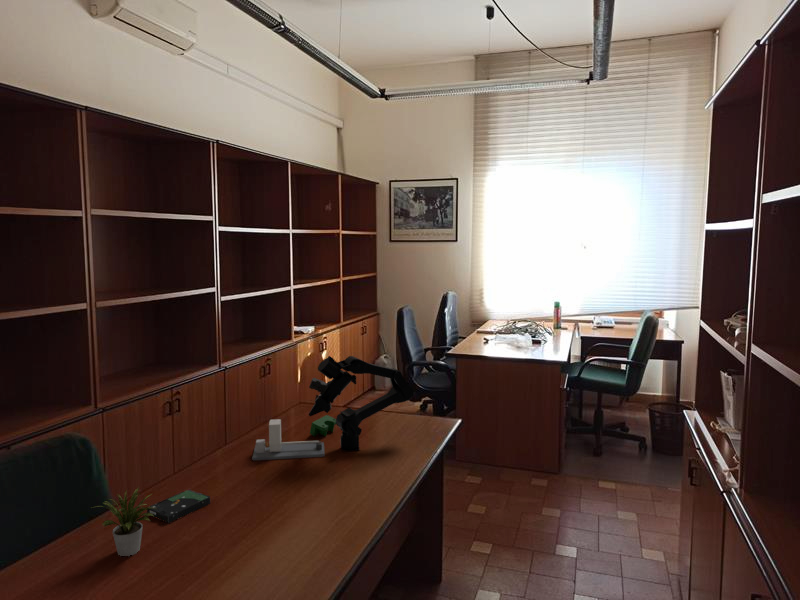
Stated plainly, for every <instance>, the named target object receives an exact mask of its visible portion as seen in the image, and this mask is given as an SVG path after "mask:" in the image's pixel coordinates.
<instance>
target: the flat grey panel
mask: <svg viewBox="0 0 800 600" xmlns="http://www.w3.org/2000/svg"><path fill="white" fill-rule="evenodd" d="M325 453H326V452H325V442H322V441H320V440H304V441H301V440H300V441H281V451H276V452H270V445H269V441H266V439H256V441H255V446H254V450H253V454H252V458H251V459H252V460H253V461H265V460H266V461H267V460H268V461H269V460H285V459H286V460H289V459H303V458H320V457H321V458H322V457H325ZM252 460H251V461H252Z"/></svg>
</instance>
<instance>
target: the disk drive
mask: <svg viewBox="0 0 800 600" xmlns="http://www.w3.org/2000/svg"><path fill="white" fill-rule="evenodd" d="M208 504H209V505H211V497H210V496H209V495H206V494H203V493H201V492H197V491H194V490H192V489H188V490H187V489H186V490H184V491H182V492H179V493H177V494H175V495H173V496H170V497H168V498H166V499H164V500H161V501H158V502H156V503H154V504H152V505H150V506H148V507H153V508H151V509H147V511H146V513H152V514H153V516H154V517H157V518H159V519H161V520H164V521H166V522H168V523H169V524H171V523H173V522H172V521H174V520H176V519H178V518H180V517H182V518H184V517H185V516H184V515H186V516H188V515H190V514H191V512H192V513H194V512H196V511H198V510H200V509H203V508H205V507H206V506H209V505H208ZM204 506H205V507H204ZM202 507H203V508H202ZM197 509H198V510H197ZM193 511H194V512H193ZM189 513H190V514H189ZM187 514H188V515H187ZM183 516H184V517H183ZM154 517H153V518H154ZM157 518H156V519H157ZM159 519H158V520H159ZM180 519H181V518H180ZM161 520H160V521H161ZM178 520H179V519H178ZM164 521H163V522H164ZM176 521H177V520H176ZM166 522H165V523H166ZM170 522H171V523H170ZM174 522H175V521H174ZM168 523H167V524H168Z"/></svg>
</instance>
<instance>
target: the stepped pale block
mask: <svg viewBox="0 0 800 600" xmlns="http://www.w3.org/2000/svg"><path fill="white" fill-rule="evenodd" d="M268 423H269V424H268V440H269V445H270V452H276V451H281V442H282V419H281V418H280V419H279V418H278V419H269V422H268Z"/></svg>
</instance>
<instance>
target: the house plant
mask: <svg viewBox="0 0 800 600" xmlns="http://www.w3.org/2000/svg"><path fill="white" fill-rule="evenodd" d="M127 490H128V489H125V492H124V497H123V498H122V496H121V495H120V494H119V493H117V494H116V495H117V498H118V502H119V504H120V506H119V504H118V503H117V501H115V500H114V499H110V498H109V500H111V501H113V502H114V503H115V504H116V505H117V508H116V507H115V506H114V505H112V504H111V503H110V502H109V501H105V500H104V502H103V505H105V506H103V505H97V506H93V507H91V509H92V508H96V507H97V508H98V507H99V508H100V507H103V508H106V509H108V510H109V511H110V512H111V513H112V516H115V517H117V519H118V522H119V523H117V522H115V521H114V520H111V519H107V520H104V521H103V522H102V524H101V526H104V527H107V526H110V525H117V526H115V527H114V528H113V530H112V535H113V539H114V544H115V548H116V551H117V555H118V556H119V555H120V556H119V557H121V556H128V557H131V556H130V555H132V556H134V555H136V554H138V553H139V552H140V549H141V544H142V536H143V535H142V534H143V526H144V525H143V523H141V522H140V521H149V522H151V520H150V518H149V517H152V516H153V514H152V513H147V512H144V511H146V510H147V509H151V508H153V507H149V506H148V507H146V505H149V504H147V503H144V502H145V500H146V499H148V498H149V497H151V496H152V495H153V493H151V494H149V495H147V496H146V497H144V498H142V500H141V501H140V502H139V503H138V505H137V506H135V505H136V504H135V503H136V501H137V499H138V496H139V494H140V492H141V491H140V487H137V488H135V490H134V492H133V493H132V495H131V497H130V500H129V502H128V497H127V493H128V492H127ZM139 491H140V492H139ZM143 506H145V507H143ZM143 512H144V513H143ZM142 516H143V517H142ZM152 518H154V516H153V517H152ZM138 551H139V552H138ZM137 552H138V553H137Z"/></svg>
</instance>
